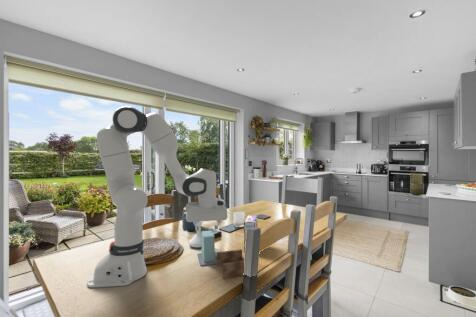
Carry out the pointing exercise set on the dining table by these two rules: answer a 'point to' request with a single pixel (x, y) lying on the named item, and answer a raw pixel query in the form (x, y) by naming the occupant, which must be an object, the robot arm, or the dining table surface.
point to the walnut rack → (231, 263)
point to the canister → (187, 223)
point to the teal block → (208, 246)
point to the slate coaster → (206, 262)
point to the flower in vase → (196, 237)
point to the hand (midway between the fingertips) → (206, 229)
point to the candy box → (249, 225)
